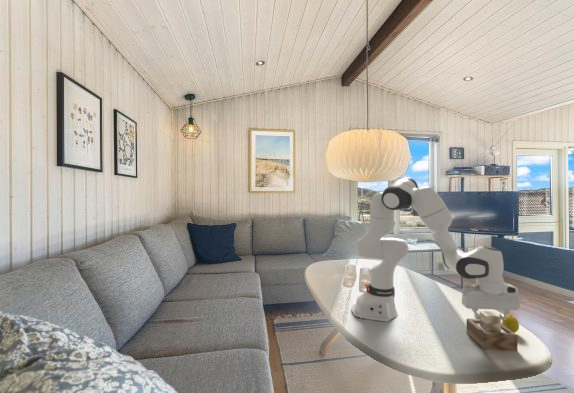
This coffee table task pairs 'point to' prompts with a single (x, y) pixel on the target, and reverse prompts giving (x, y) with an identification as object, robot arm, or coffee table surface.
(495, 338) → the walnut frame
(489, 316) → the ash block
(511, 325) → the lemon
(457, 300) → the coffee table surface
